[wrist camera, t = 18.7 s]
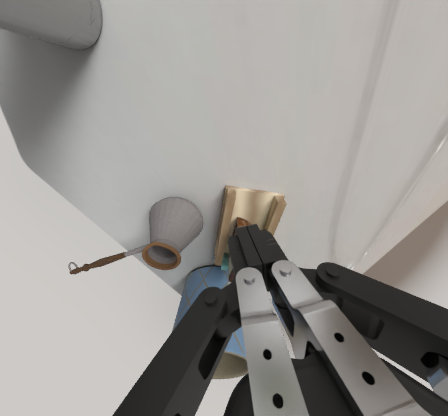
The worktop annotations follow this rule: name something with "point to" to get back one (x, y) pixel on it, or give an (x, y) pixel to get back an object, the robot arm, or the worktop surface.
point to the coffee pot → (163, 235)
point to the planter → (235, 351)
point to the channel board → (246, 216)
